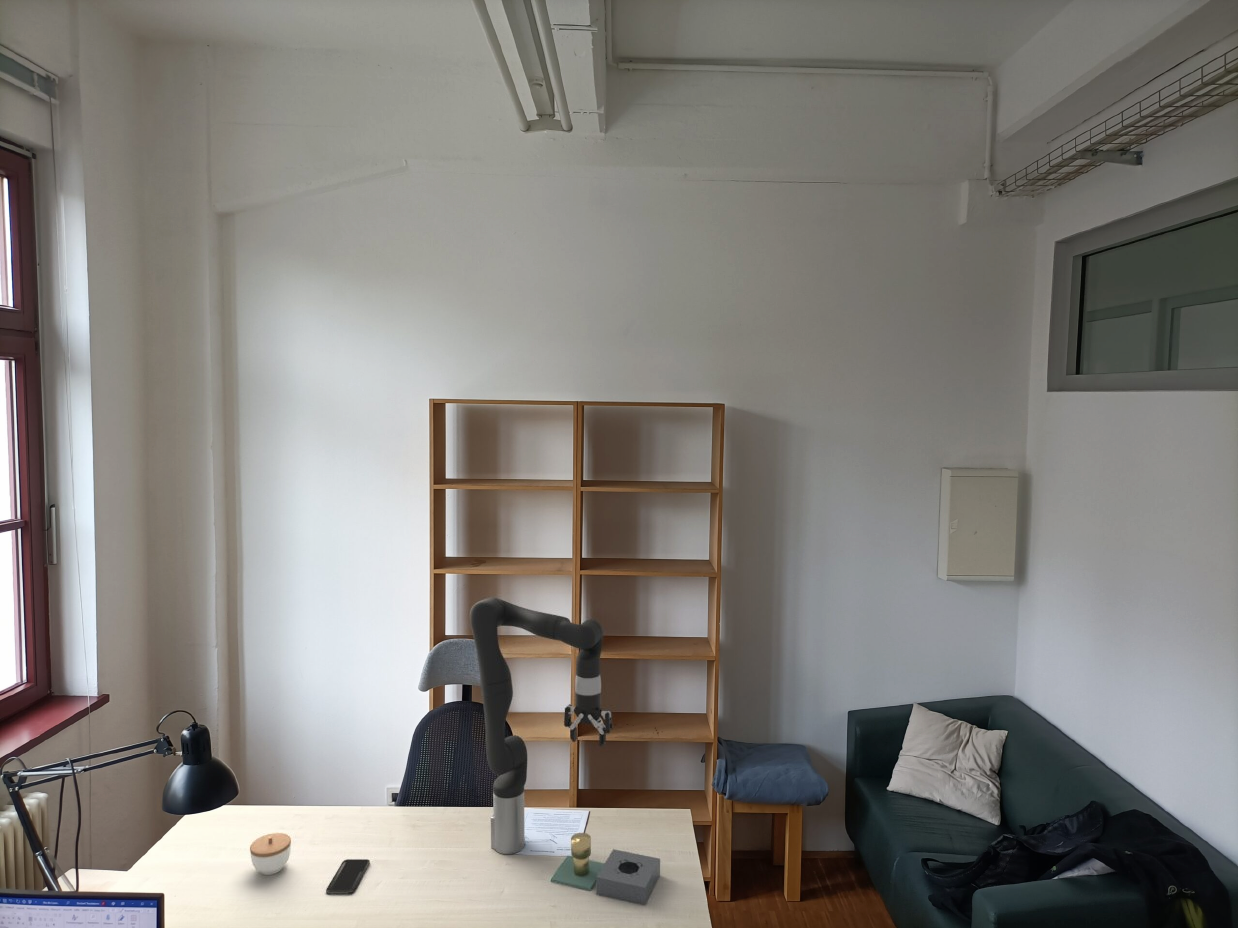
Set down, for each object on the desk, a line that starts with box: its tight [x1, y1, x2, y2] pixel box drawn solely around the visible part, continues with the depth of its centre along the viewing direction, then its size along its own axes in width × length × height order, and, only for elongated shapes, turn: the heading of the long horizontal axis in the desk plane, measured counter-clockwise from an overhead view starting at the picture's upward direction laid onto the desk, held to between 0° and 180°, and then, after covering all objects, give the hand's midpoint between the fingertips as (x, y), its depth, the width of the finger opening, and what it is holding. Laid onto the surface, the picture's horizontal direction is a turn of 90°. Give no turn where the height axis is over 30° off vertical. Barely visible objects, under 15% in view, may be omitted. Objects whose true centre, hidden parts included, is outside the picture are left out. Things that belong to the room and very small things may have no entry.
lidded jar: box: [249, 832, 292, 876], centre depth 227 cm, size 11×11×9 cm
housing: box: [595, 849, 661, 906], centre depth 220 cm, size 14×14×5 cm
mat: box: [550, 855, 605, 892], centre depth 226 cm, size 12×12×1 cm
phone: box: [325, 858, 371, 895], centre depth 224 cm, size 8×1×15 cm
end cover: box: [570, 832, 592, 877], centre depth 225 cm, size 6×6×10 cm
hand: (588, 742), depth 232 cm, fingers open, 8 cm apart
